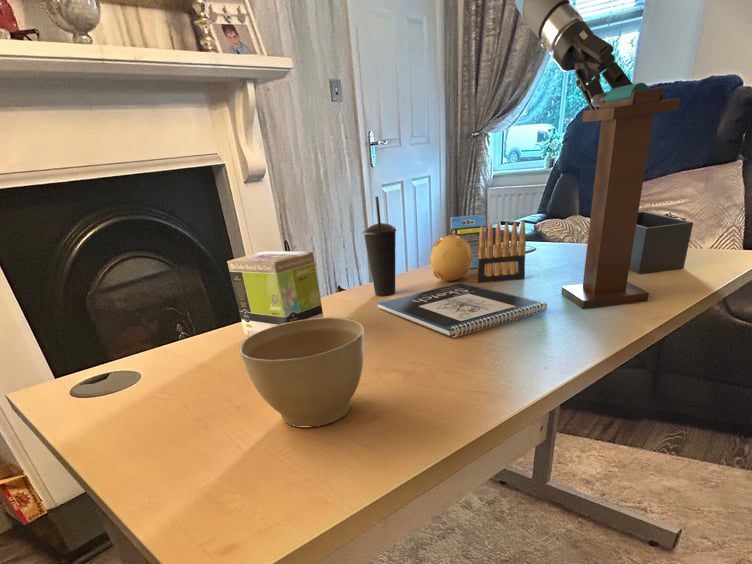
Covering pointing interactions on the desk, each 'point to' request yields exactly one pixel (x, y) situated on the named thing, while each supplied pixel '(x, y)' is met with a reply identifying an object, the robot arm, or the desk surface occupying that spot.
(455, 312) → the sketchbook
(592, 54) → the robot arm
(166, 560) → the desk surface
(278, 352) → the planter bowl
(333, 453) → the desk surface
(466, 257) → the stress ball
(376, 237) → the drinking cup
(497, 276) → the ammunition clip
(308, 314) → the tea box
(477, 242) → the label tape box
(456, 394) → the desk surface
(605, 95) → the marker
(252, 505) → the desk surface
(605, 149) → the headphone stand
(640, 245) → the pen holder
